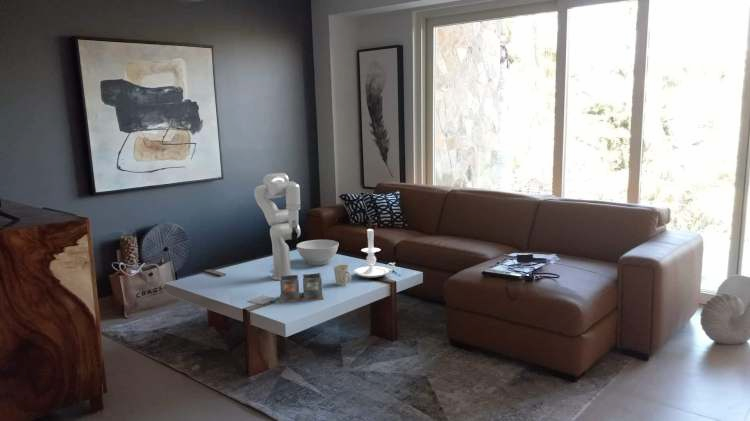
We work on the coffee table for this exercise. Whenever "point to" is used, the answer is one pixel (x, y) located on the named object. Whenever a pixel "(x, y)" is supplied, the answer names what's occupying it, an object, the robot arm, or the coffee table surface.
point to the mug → (342, 274)
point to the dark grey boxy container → (310, 288)
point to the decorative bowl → (317, 251)
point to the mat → (262, 299)
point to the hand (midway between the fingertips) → (294, 237)
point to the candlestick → (372, 261)
